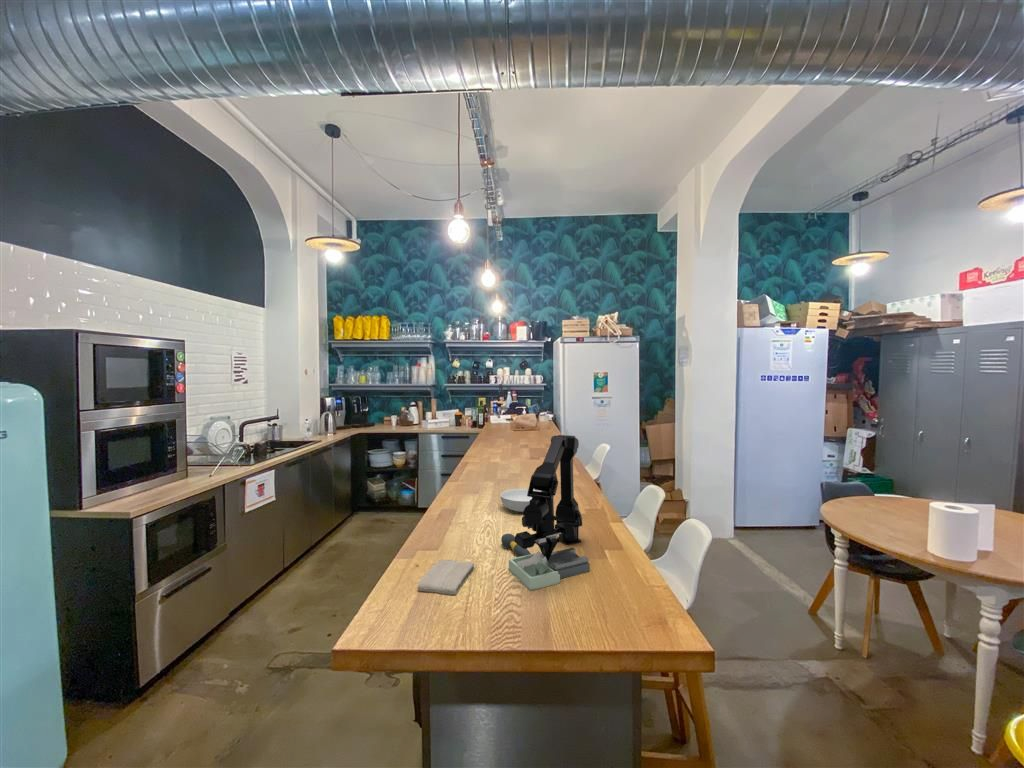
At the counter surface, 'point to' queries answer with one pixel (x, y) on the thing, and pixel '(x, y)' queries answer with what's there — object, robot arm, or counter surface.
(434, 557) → the counter surface
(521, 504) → the serving bowl
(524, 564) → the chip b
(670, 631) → the counter surface
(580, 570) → the slot board
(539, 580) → the chip tray
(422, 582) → the washcloth
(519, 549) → the paintbrush
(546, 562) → the grey cube
